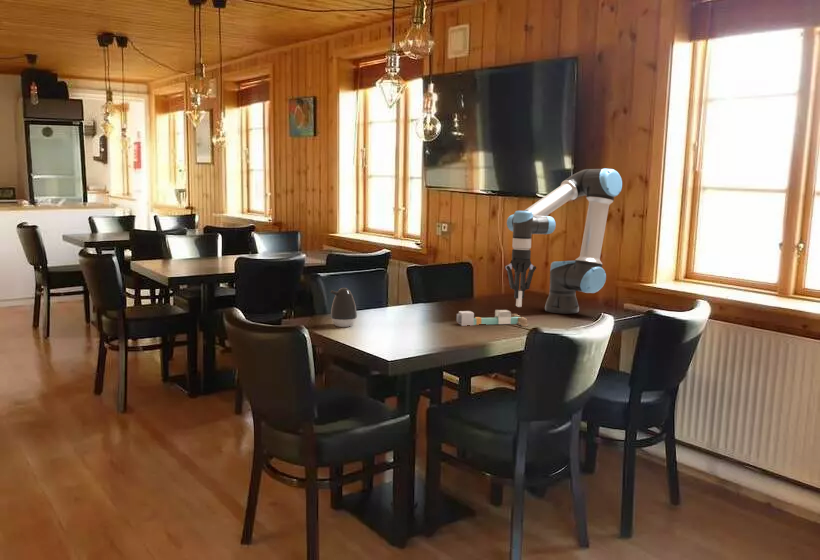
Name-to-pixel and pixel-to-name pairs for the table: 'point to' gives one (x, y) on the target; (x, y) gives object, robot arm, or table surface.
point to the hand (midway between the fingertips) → (518, 306)
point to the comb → (520, 320)
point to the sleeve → (503, 316)
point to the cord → (478, 319)
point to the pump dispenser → (343, 308)
